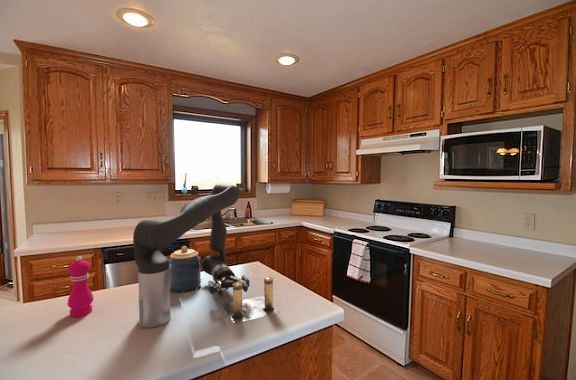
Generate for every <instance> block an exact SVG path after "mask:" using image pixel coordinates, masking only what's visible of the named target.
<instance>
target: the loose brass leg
mask: <svg viewBox="0 0 576 380" xmlns="http://www.w3.org/2000/svg"><path fill="white" fill-rule="evenodd" d="M242 300H243V289H242V283H241V282H235V283H233V288H232V302H233V317H234V318H236V319H238V318H241V317H242Z"/></svg>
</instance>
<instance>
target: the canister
mask: <svg viewBox="0 0 576 380" xmlns="http://www.w3.org/2000/svg"><path fill="white" fill-rule="evenodd" d="M169 257H170V259H169V269H170V292H172V293H178V294H179V293H189V292H193V291H195V290H196V289H199V288H200V287H201V283H202V279H201V267H202V264H200V261H201V260H202V259H201V257H200V256H199V252H198V251H196V250H195V249H192V248H188V247H187V246H186V245H183V246H181V249H178V250H175V251H174V252H172V253H171V254H170V256H169Z"/></svg>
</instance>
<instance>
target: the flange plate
mask: <svg viewBox="0 0 576 380" xmlns="http://www.w3.org/2000/svg"><path fill="white" fill-rule="evenodd" d="M222 306H223V308H224V310H225V311H226V313H227V315H228V317H229V318H230V320H231V321H232V324H233V325H235V324H239V323H240V324H241V323H244V322H247V321H252V320H256V319H260V318H265V317H269V316H273V315H277V314H280V313H281V312H280V311H279V310H278V309H277V308H276V306H274V305H273V310H272V311H265V310H264V295H262V296H261V295H260V296H256V297H251V298H245V299H242V317H241V318H238V319H236V318H234V317H233V301H231V302H227V303H223V304H222Z"/></svg>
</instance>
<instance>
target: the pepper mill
mask: <svg viewBox="0 0 576 380" xmlns="http://www.w3.org/2000/svg"><path fill="white" fill-rule="evenodd" d="M90 270H91V265H90V263H89V262H88V261H87V260H84V259H83V257H82V256H81V255H78V256H77V257H75V261H73V262H72V263H70V264H69V266H68V270H67V271H68V273H69V274H70V281H71V282H72V289H71V292H70V294H69V296H68V297H67V298H68V299H67V307H68V308H69V309H70V310H69V316H70V317H71V318H79V317H80V318H81V317H85V316H87V315H89V314H91V313H92V311H93V305H92V303H93V302H94V295H93V293H92V291H91V289H90V288H89V285H88V278H89V271H90Z"/></svg>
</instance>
